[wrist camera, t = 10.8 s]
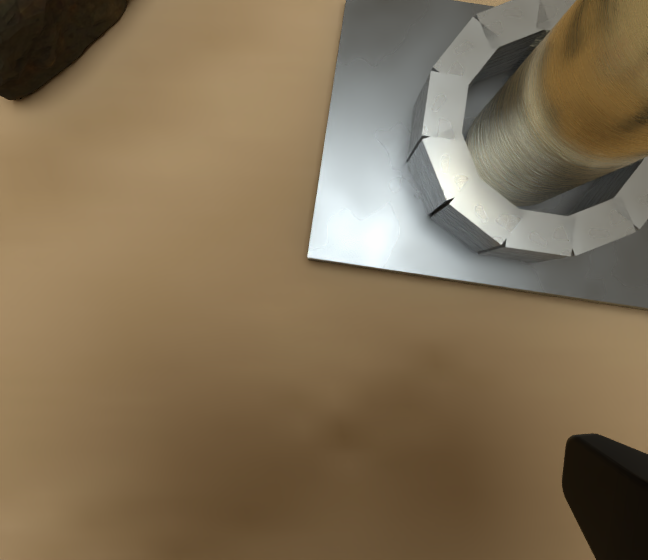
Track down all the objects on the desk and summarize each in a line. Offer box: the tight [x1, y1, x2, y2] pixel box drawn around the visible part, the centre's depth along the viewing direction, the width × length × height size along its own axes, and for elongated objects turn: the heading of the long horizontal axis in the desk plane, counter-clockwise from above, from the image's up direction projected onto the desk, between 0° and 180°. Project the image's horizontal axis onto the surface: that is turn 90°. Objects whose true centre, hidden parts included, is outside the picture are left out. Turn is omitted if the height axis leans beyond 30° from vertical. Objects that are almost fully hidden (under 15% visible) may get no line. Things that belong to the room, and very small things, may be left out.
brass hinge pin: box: [466, 0, 648, 206], centre depth 13 cm, size 4×4×13 cm
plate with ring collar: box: [307, 0, 648, 310], centre depth 19 cm, size 10×14×4 cm
